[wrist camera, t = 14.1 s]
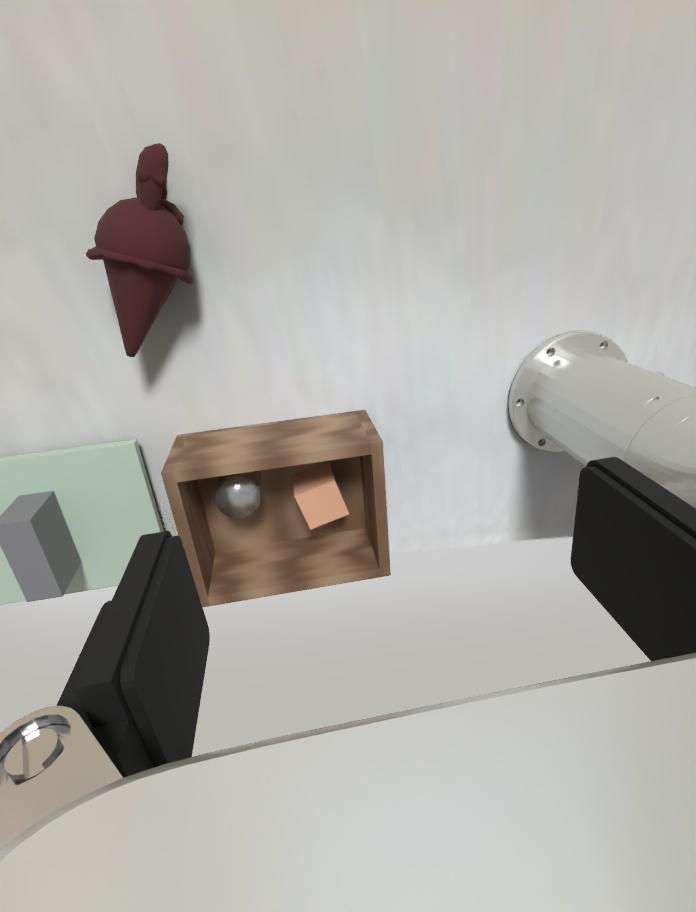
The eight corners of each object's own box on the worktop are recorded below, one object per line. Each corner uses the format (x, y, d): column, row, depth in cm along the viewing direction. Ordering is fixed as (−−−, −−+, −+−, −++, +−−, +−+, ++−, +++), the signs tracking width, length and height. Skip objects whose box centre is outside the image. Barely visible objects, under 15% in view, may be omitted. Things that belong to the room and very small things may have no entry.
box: (364, 409, 48) (382, 441, 41) (373, 529, 54) (390, 575, 47) (177, 435, 46) (161, 473, 39) (208, 555, 52) (199, 607, 45)
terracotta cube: (329, 461, 48) (334, 480, 45) (343, 493, 50) (349, 514, 47) (292, 476, 48) (294, 496, 45) (307, 508, 50) (310, 529, 47)
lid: (139, 435, 45) (118, 468, 39) (176, 564, 52) (164, 610, 46) (-81, 463, 43) (-139, 503, 37) (-13, 594, 50) (-53, 647, 44)
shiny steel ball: (257, 457, 47) (256, 476, 43) (263, 493, 49) (263, 514, 45) (215, 463, 47) (210, 482, 43) (223, 499, 48) (219, 521, 45)
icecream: (184, 375, 38) (219, 161, 33) (74, 357, 34) (97, 115, 30) (174, 356, 43) (202, 172, 39) (79, 339, 40) (99, 135, 35)
